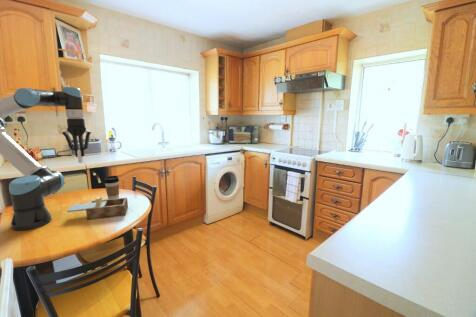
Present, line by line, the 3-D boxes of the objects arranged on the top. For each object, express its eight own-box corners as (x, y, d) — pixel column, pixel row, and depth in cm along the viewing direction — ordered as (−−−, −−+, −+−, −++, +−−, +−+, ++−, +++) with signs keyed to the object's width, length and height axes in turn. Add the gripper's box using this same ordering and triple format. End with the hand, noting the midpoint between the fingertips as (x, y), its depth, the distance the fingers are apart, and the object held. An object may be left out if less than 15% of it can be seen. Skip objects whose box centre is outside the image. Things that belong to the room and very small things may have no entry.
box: (87, 220, 122) (85, 209, 121) (93, 210, 133) (92, 200, 132) (125, 215, 127) (124, 205, 126) (128, 207, 139) (127, 197, 137)
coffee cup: (123, 197, 153) (121, 175, 150) (115, 202, 145) (113, 179, 142) (111, 197, 154) (109, 175, 151) (103, 202, 146) (100, 179, 143)
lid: (67, 212, 120) (66, 203, 119) (73, 205, 128) (72, 197, 127) (103, 208, 125) (102, 199, 124) (106, 202, 133) (106, 194, 132)
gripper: (57, 118, 116) (64, 164, 121) (87, 118, 120) (92, 163, 125) (63, 117, 123) (69, 161, 128) (91, 117, 127) (96, 160, 132)
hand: (80, 162), depth 127 cm, fingers closed
